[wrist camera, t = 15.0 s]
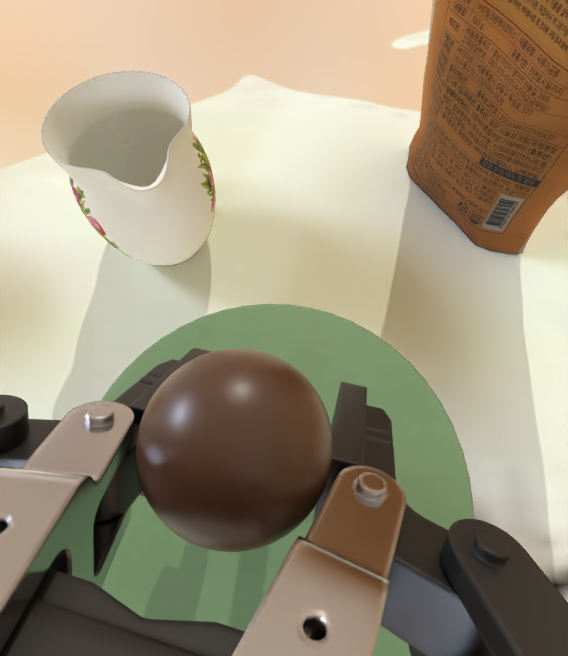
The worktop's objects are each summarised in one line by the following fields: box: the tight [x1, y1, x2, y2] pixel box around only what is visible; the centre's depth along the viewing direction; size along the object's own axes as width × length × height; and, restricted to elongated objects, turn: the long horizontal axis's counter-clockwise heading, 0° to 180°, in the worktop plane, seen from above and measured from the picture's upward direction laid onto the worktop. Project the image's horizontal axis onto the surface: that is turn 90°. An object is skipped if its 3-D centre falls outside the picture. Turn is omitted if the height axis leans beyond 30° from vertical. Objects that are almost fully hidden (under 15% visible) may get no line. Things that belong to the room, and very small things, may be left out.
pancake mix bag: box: [406, 0, 568, 254], centre depth 29 cm, size 7×19×28 cm, turn 30°
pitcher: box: [41, 71, 215, 266], centre depth 35 cm, size 11×18×14 cm, turn 27°
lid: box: [101, 304, 473, 656], centre depth 11 cm, size 14×14×10 cm
